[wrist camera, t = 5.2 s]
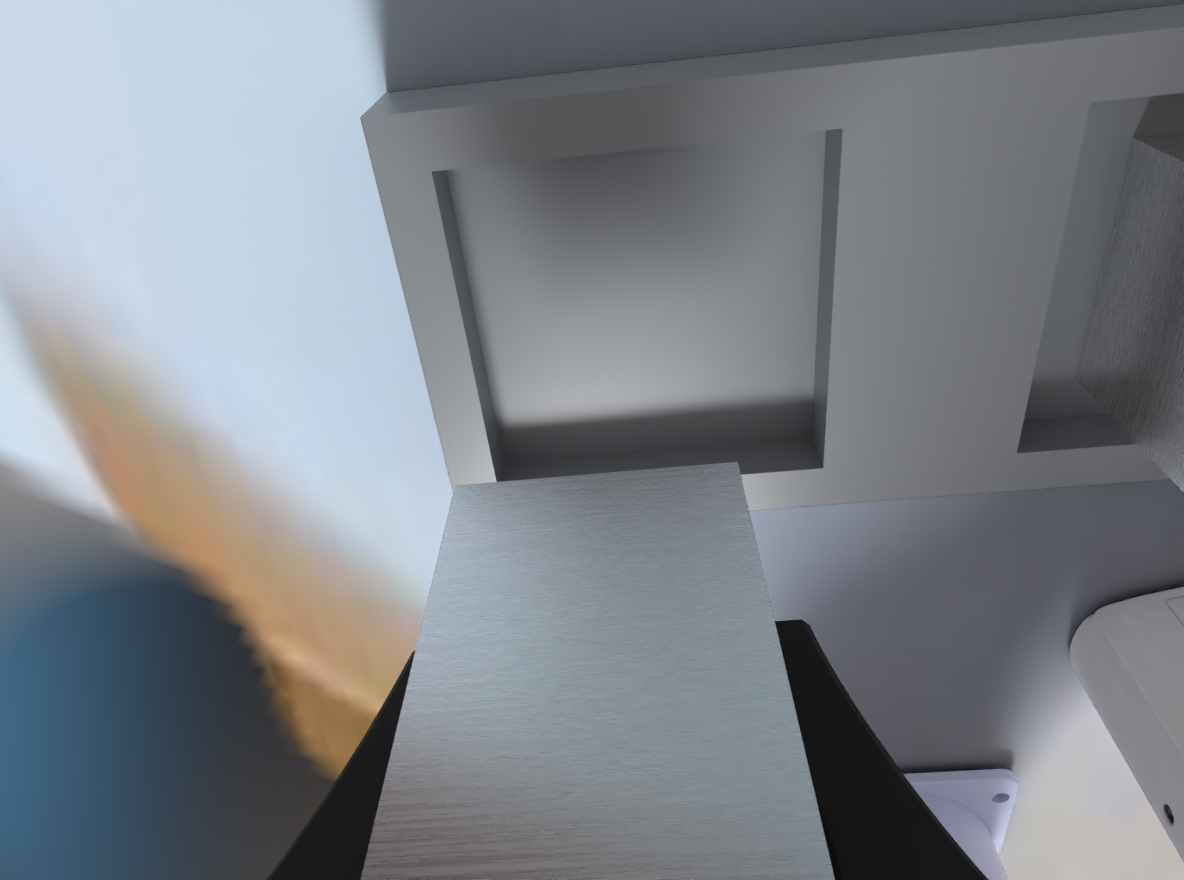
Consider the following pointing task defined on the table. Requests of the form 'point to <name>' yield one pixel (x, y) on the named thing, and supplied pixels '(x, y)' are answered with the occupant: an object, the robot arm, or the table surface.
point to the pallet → (780, 259)
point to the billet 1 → (599, 693)
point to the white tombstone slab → (1141, 692)
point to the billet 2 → (1143, 306)
